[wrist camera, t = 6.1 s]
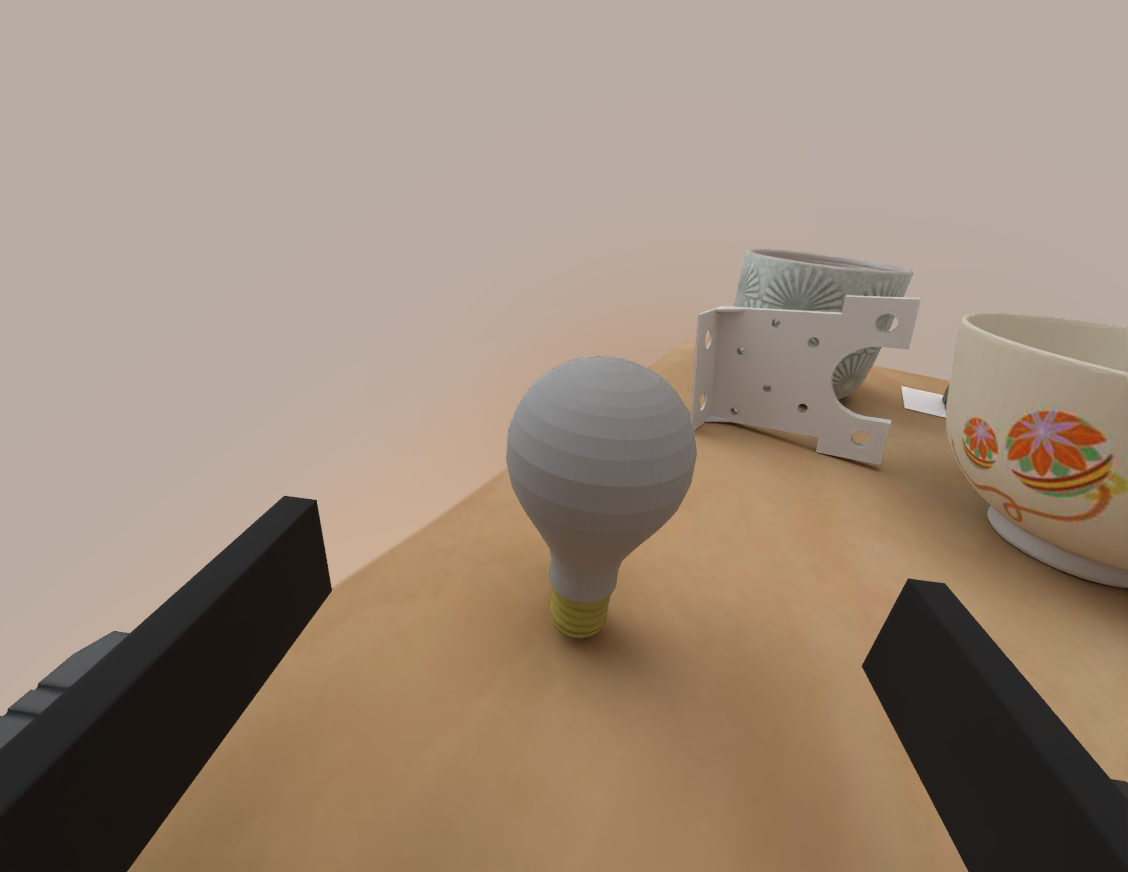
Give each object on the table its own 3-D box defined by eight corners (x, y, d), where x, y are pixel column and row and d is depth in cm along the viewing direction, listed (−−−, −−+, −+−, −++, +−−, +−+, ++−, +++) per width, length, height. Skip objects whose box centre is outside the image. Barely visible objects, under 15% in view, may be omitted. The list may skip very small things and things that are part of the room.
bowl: (840, 453, 32) (899, 301, 28) (1089, 482, 32) (1190, 331, 27) (1018, 653, 18) (1196, 408, 14) (1480, 715, 17) (1826, 477, 13)
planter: (885, 424, 38) (947, 278, 33) (722, 399, 39) (758, 258, 35) (837, 374, 49) (877, 259, 44) (711, 357, 50) (737, 244, 46)
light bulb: (479, 676, 15) (482, 379, 11) (521, 562, 20) (535, 324, 16) (651, 713, 15) (729, 415, 10) (652, 587, 20) (705, 346, 15)
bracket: (687, 446, 34) (699, 297, 30) (710, 427, 37) (723, 290, 33) (874, 487, 28) (918, 307, 24) (881, 460, 31) (921, 298, 27)
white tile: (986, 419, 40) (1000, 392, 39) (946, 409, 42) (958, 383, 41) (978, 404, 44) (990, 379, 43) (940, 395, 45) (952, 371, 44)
